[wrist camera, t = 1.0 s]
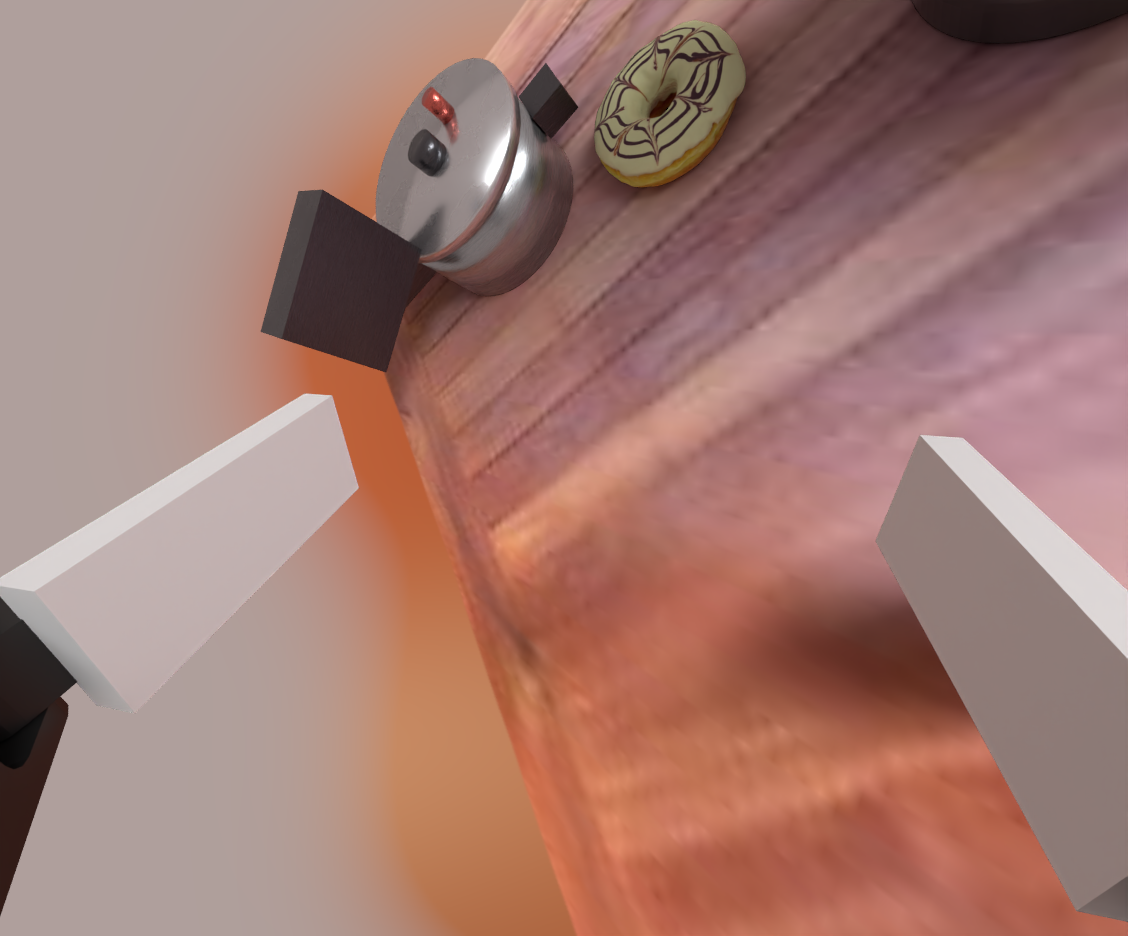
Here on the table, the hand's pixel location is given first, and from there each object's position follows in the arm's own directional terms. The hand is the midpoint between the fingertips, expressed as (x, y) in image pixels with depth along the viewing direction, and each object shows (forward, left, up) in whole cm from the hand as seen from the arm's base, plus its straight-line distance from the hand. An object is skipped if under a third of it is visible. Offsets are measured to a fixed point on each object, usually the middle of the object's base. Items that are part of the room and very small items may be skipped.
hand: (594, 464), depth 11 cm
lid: (+10, -32, -14) cm, 36 cm away
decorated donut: (-8, -28, -22) cm, 37 cm away
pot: (+9, -35, -21) cm, 42 cm away
